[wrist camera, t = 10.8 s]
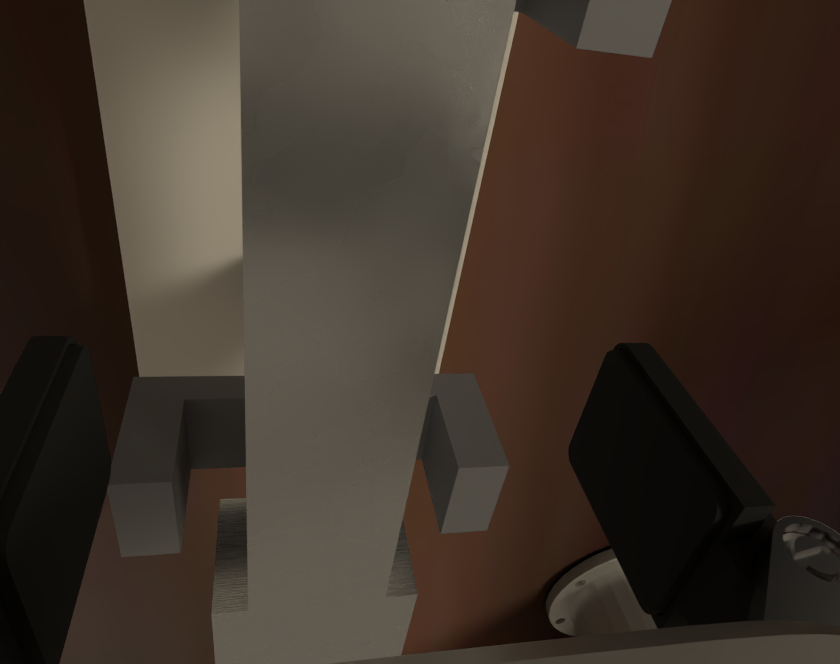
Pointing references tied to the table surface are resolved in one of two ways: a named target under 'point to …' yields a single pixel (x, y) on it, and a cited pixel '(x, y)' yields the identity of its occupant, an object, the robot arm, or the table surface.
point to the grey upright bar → (344, 306)
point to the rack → (223, 256)
